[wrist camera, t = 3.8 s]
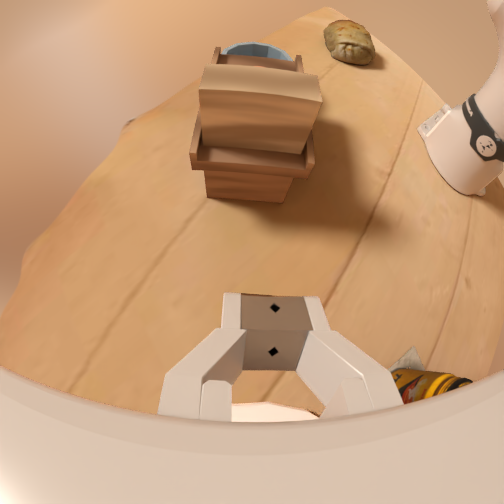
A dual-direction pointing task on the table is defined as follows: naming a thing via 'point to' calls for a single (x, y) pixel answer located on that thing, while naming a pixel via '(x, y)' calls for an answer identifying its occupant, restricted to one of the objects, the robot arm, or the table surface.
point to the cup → (257, 50)
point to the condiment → (421, 379)
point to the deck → (250, 153)
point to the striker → (257, 107)
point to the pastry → (349, 42)
